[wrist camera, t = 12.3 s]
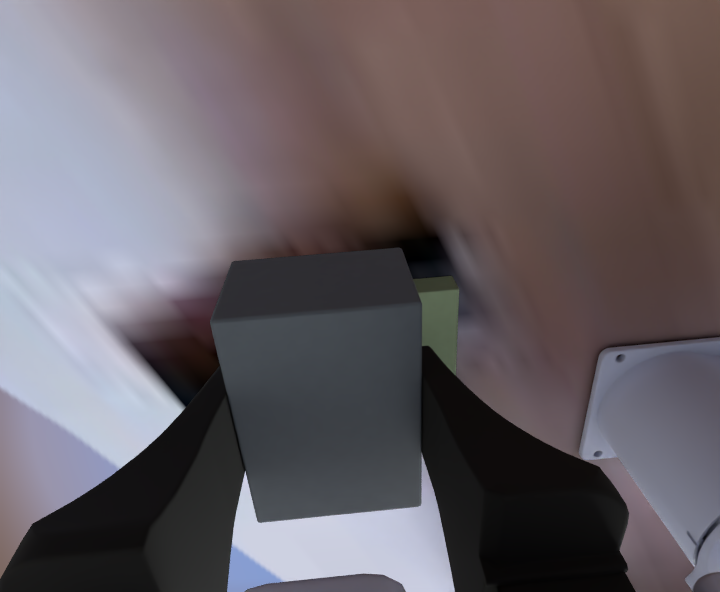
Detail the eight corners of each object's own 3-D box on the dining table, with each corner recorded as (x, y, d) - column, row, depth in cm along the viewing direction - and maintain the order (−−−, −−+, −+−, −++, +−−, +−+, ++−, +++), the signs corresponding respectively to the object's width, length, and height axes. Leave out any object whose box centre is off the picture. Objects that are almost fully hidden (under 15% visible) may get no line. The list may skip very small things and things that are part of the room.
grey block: (401, 246, 15) (422, 302, 12) (404, 428, 18) (421, 507, 15) (231, 259, 14) (208, 321, 11) (267, 441, 18) (257, 524, 15)
